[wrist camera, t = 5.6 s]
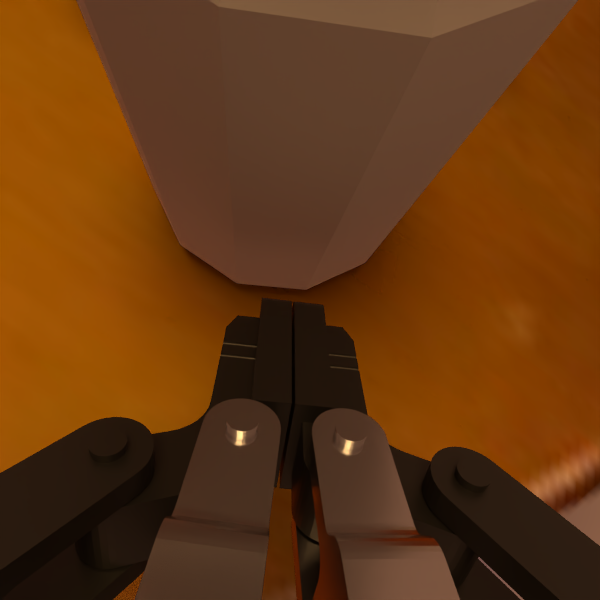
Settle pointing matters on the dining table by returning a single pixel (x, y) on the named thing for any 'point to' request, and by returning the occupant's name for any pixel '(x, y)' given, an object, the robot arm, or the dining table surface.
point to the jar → (304, 115)
